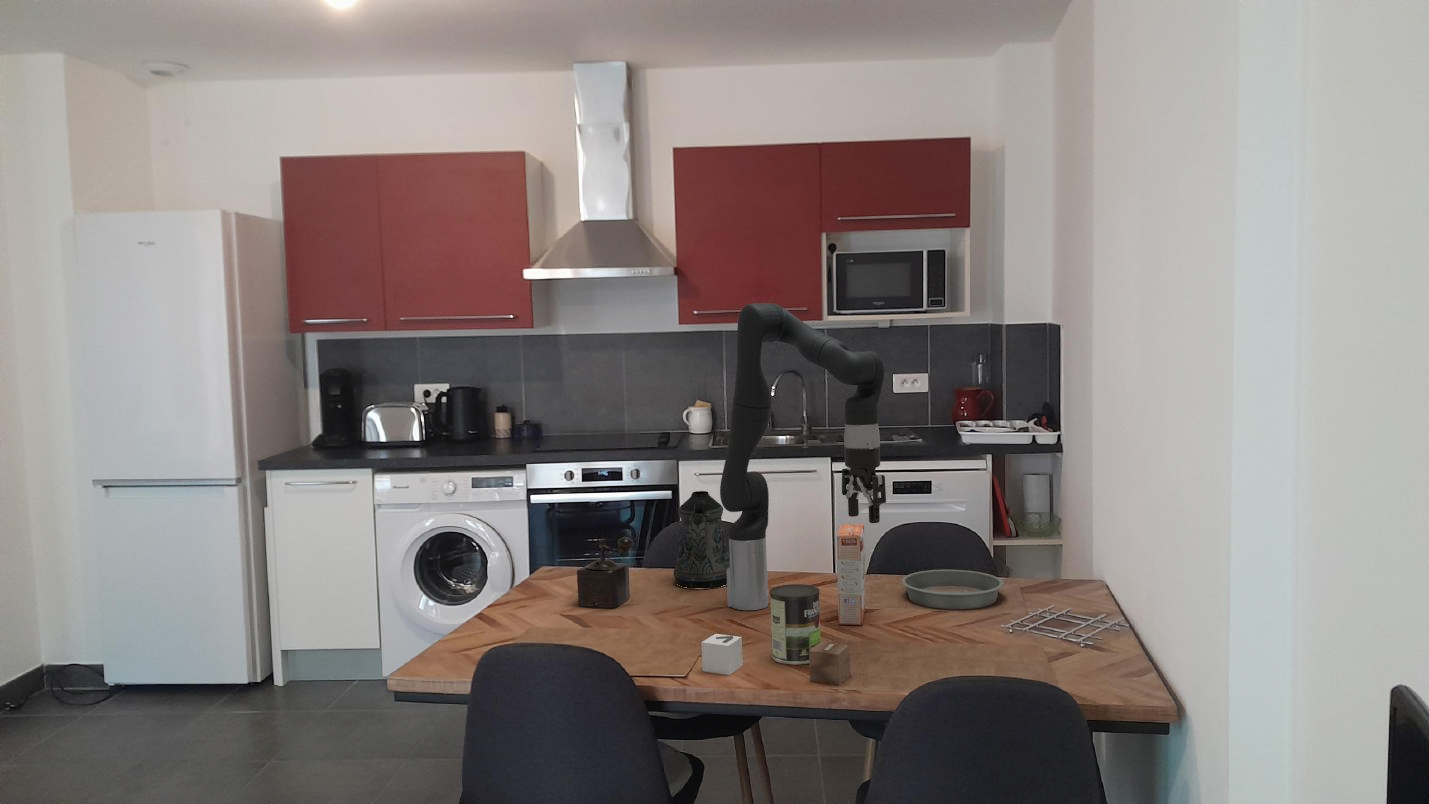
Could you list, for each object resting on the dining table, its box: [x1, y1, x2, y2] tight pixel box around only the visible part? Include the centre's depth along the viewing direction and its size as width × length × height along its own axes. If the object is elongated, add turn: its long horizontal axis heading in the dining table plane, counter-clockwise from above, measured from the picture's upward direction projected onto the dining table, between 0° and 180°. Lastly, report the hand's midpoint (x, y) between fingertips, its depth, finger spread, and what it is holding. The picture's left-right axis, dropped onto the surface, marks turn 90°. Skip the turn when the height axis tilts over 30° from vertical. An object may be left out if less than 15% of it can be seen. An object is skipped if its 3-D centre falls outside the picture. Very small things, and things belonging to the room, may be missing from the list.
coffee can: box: [768, 583, 821, 666], centre depth 202 cm, size 10×10×14 cm
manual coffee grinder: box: [576, 536, 634, 609], centre depth 249 cm, size 16×11×18 cm
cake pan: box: [901, 569, 1004, 610], centre depth 243 cm, size 25×25×4 cm
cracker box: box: [836, 523, 866, 626], centre depth 228 cm, size 14×6×21 cm, turn 168°
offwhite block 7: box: [701, 633, 744, 676], centre depth 197 cm, size 6×6×6 cm
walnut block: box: [809, 641, 851, 685], centre depth 189 cm, size 6×6×6 cm
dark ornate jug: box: [672, 490, 730, 589], centre depth 265 cm, size 16×19×25 cm
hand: (863, 519), depth 210 cm, fingers open, 8 cm apart
